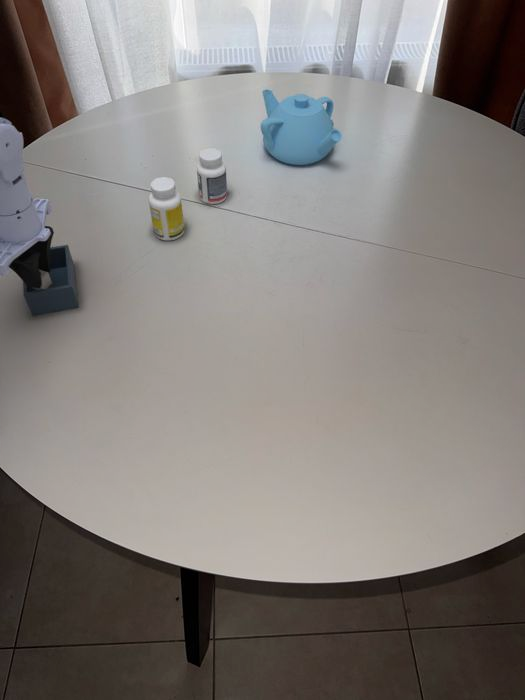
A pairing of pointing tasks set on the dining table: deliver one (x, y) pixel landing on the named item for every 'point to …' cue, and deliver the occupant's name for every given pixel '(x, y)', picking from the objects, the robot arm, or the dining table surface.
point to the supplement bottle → (166, 209)
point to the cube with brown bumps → (44, 280)
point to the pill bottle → (211, 176)
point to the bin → (55, 285)
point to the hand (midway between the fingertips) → (38, 278)
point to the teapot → (298, 128)
